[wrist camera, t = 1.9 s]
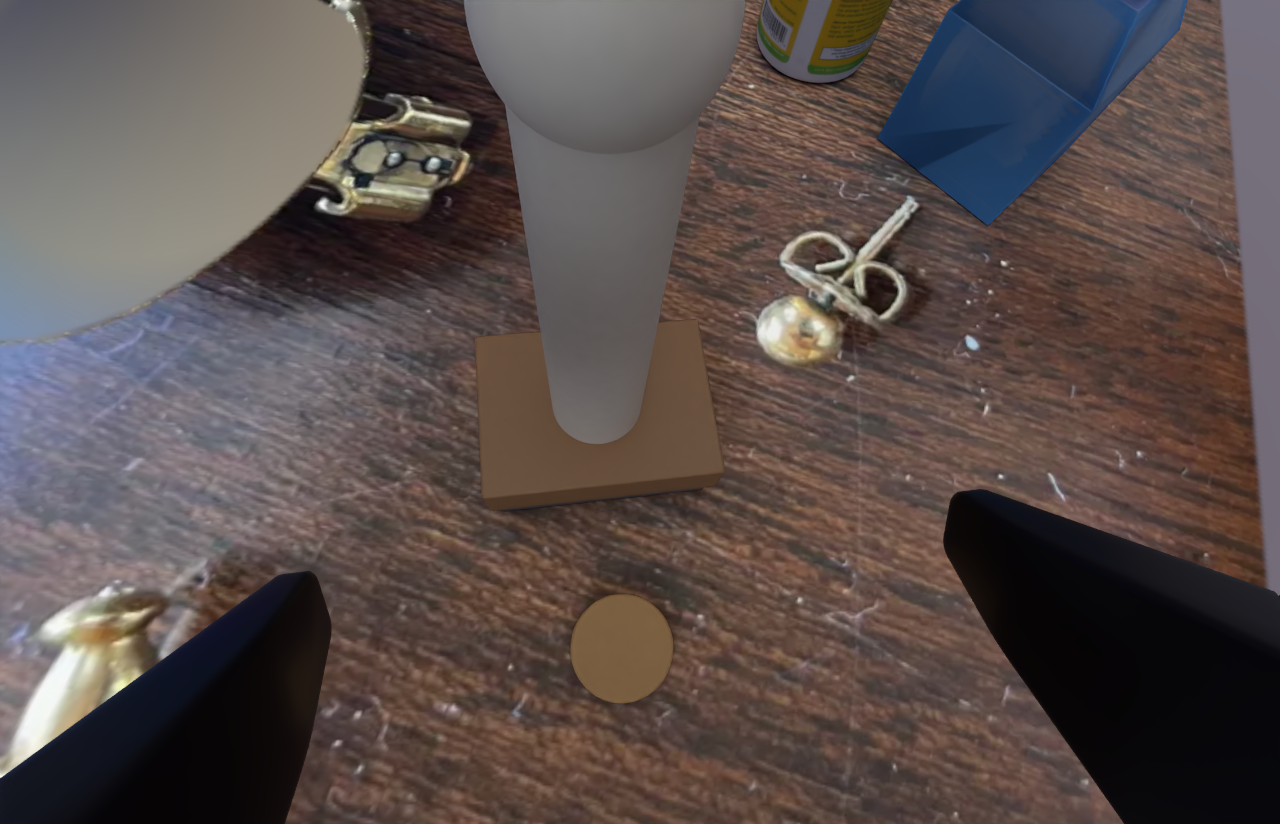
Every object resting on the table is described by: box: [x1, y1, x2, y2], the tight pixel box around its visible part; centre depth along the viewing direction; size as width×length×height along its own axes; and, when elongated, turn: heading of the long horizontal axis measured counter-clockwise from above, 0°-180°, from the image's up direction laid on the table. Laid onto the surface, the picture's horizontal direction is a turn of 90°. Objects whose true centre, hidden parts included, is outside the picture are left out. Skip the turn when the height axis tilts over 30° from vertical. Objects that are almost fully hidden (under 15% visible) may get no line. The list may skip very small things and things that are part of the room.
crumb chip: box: [570, 594, 673, 703], centre depth 20 cm, size 3×3×1 cm
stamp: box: [464, 0, 745, 512], centre depth 15 cm, size 5×7×18 cm
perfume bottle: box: [877, 0, 1187, 226], centre depth 24 cm, size 6×6×12 cm
